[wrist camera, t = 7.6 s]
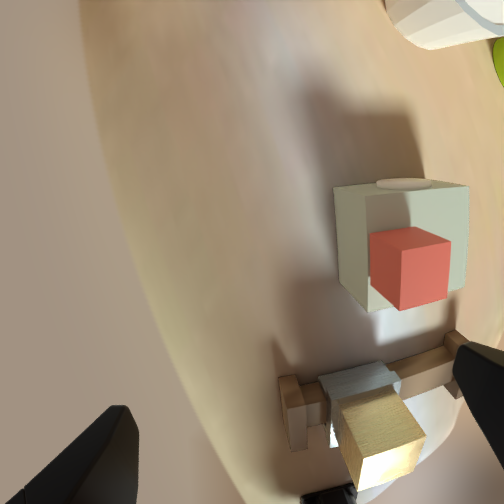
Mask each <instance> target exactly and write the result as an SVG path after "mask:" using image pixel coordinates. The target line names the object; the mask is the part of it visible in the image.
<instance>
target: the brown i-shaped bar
mask: <svg viewBox="0 0 504 504" xmlns="http://www.w3.org/2000/svg"><path fill="white" fill-rule="evenodd" d="M466 342H470V341H469V340H467V339H466V338H465V337H464V336H463V335H461V334H460V333H459V332H458V331H457V330H454V331H451V332H449V333H446V334H445V339H444V344H443V346H441V347H438V348H435V349H432V350H429V351H427V352H424V353H421V354H418V355H415V356H412V357H409V358H405V359H402V360H399V361H396V362H393V363H389V364H386V365H385V366H386V367H387V368H388V370H389V371H390V372H391V371H395V372H396V374H397V375H398V376H399V378H400V379H401V380H402V381H401V387H400V393H399V397H400V398H401V400H405V399H408V398H411V397H413V396H416V395H419V394H421V393H424V392H427V391H429V390H432V389H434V388H437V387H439V386H442V385H443V386H444V387H445V388H446V389H447V390H448V391H449V392H450V394H451V395H452V396H453V397H454V398H455V399H458V398H460V397H462V396H463V395H462V392H461V390H460V388H459V386H458V384H457V382H456V380H455V379H454V377H453V373H452V367H453V363H454V360H455V356H456V352H457V349H458V347H459V346H460V345H461V344H464V343H466ZM279 387H280V395H281V404H282V412H283V421H284V425H285V429H286V433H287V437H288V441H289V445H290V449H291V452H296V451H300V450H305V449H308V446H307V427H310V426H315V425H319V424H324V423H326V398H325V396H324V394H323V391H322V389H321V387H320V385H319V382H316V383H311V384H306V385H302V386H299V385H298V382H297V379H296V376H295V375H289V376H284V377H279Z"/></svg>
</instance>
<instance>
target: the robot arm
mask: <svg viewBox="0 0 504 504" xmlns="http://www.w3.org/2000/svg"><path fill="white" fill-rule="evenodd" d="M452 373H453V377H454V379H455V380H456V382H457V384H458V386H459V388H460V390H461V392H462V395H463V397H464V399H465V401H466V403H467V405H468V407H469V409H470V411H471V413H472V415H473V417H474V418H475V420H476V422H477V423H478V425H479V427H480V429H481V430H482V432H483V434H484V435H485V437H486V439H487V441H488V442H489V444H490V446H491V448H492V449H493V451H494V453H495V455H496V456H497V458H498V460H499V462H500V463H501V466H502V468H503V469H504V351H501V350H498V349H495V348H492V347H488V346H485V345H482V344H479V343H476V342H472V341H470V342H466V343H464V344H461V345H460V346H459V347H458V349H457V352H456V356H455V360H454V363H453V367H452ZM138 462H139V430H138V427H137V424H136V422H135V420H134V418H133V416H132V414H131V412H130V410H129V408H128V407H127V406H125V405H112V406H110V407H109V408H108V409H107V410H106V411H105V412H103V413H102V414H101V415H100V416H99V417H98V418H97V419H96V420H95V421H94V422H93V423H92V424H91V425H90V426H89V427H88V428H87V429H85V430H84V431H83V432H82V433H81V434H80V435H79V436H78V437H77V438H76V439H75V440H74V441H73V442H72V443H71V444H70V445H69V446H68V447H66V448H65V449H64V450H63V451H62V452H61V453H60V454H59V455H58V456H57V457H56V458H55V459H54V460H52V461H51V462H50V463H49V464H48V465H47V466H46V467H45V468H44V469H43V470H42V471H41V472H40V473H38V474H37V475H36V476H35V477H34V478H33V479H32V480H31V481H30V482H29V483H28V484H27V485H25V486H24V489H21V490H20V491H19V492H18V493H17V494H16V495H14V496H13V497H12V498H11V499H10V500H9V501H8V502H6V503H5V504H136V499H137V492H138V464H139V463H138ZM357 494H358V492H357V490H356V488H355V485H354V483H352V484H348V485H345V486H341V487H338V488H334V489H330V490H326V491H322V492H318V493H313V494H309V495H305V496H302V497H301V504H357V503H356V498H357Z"/></svg>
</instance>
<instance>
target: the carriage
mask: <svg viewBox="0 0 504 504" xmlns="http://www.w3.org/2000/svg"><path fill="white" fill-rule="evenodd" d="M318 380H319V385H320V387H321V389H322V391H323V394H324V396H325V398H326V423H324V424H323V427H324V429H325V432H326V439H327V441H328V444H329V447H330V448H333V447H337V446H339V448H340V451H341V453H342V455H343V458H344V460H345V463H346V465H347V468H348V470H349V473H350V475H351V478H352V480H353V483H354V485H355V488H356V490H357V492H358V491H361V490H364V489H367V488H370V487H373V486H376V485H379V484H382V483H385V482H388V481H390V480H393V479H396V478H398V477H401V476H403V475H406V474H408V473H411V472H413V471H414V468H415V466H416V463H417V461H418V458H419V455H420V453H421V450H422V447H423V445H424V442H425V439H426V434H425V433H424V431H423V430H422V428H421V427H420V425H419V424H418V423H417V421H416V420H415V418H414V417H413V415H412V414H411V412H410V411H409V410H408V408H407V407H406V405H405V404H404V402H403V401H402V400H401V398H400V397H399V393H400V387H401V381H402V380H401V379H400V378H399V376H398V375H397V374H396V372H395V371H391V372H390V371H389V370H388V368H387V367H386V366H385V364H384V363H383V362H382V360H381V361H377V362H374V363H370V364H366V365H363V366H359V367H355V368H351V369H347V370H343V371H339V372H335V373H330V374H326V375H322V376H318Z"/></svg>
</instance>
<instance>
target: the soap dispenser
mask: <svg viewBox="0 0 504 504" xmlns="http://www.w3.org/2000/svg"><path fill="white" fill-rule="evenodd" d="M493 60H494V65H495V69H496V72H497V74H498V77H499V79H500V81H501V83H502V85H503V87H504V37H503V38H500V39H498V40H496V42H495V43H494V46H493Z"/></svg>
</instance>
